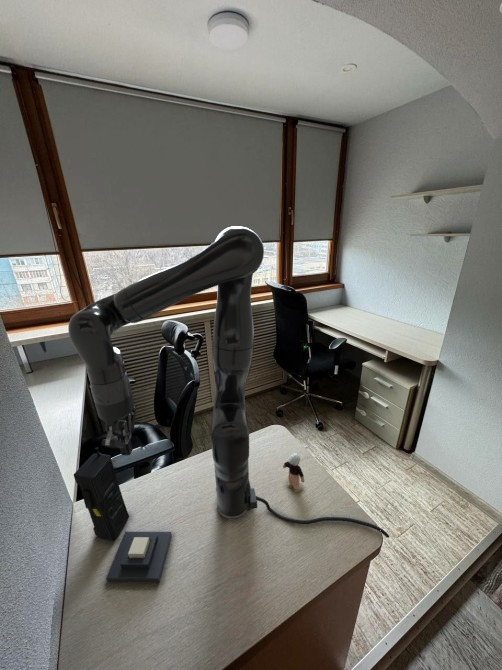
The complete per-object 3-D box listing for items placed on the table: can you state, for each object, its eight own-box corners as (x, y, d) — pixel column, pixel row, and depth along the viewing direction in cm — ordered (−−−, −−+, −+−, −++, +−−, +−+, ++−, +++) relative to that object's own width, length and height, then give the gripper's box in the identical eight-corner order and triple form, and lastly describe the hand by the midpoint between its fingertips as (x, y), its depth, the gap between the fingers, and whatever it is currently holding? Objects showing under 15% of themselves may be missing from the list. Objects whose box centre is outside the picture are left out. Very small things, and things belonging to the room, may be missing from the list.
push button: (171, 535, 70) (170, 527, 69) (159, 582, 61) (157, 573, 60) (126, 535, 71) (124, 527, 69) (107, 582, 61) (104, 573, 60)
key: (149, 541, 66) (148, 537, 66) (144, 558, 63) (143, 553, 62) (135, 541, 66) (134, 537, 66) (129, 558, 63) (127, 553, 62)
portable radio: (112, 546, 68) (89, 475, 59) (92, 541, 69) (65, 471, 60) (131, 516, 75) (113, 448, 66) (112, 512, 76) (91, 444, 67)
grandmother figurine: (306, 486, 83) (309, 456, 78) (302, 496, 80) (304, 465, 75) (284, 475, 87) (286, 445, 82) (279, 484, 84) (280, 454, 79)
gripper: (115, 413, 53) (131, 476, 60) (141, 377, 65) (151, 433, 72) (78, 413, 53) (98, 476, 60) (110, 378, 65) (123, 433, 72)
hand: (127, 452), depth 66 cm, fingers closed
